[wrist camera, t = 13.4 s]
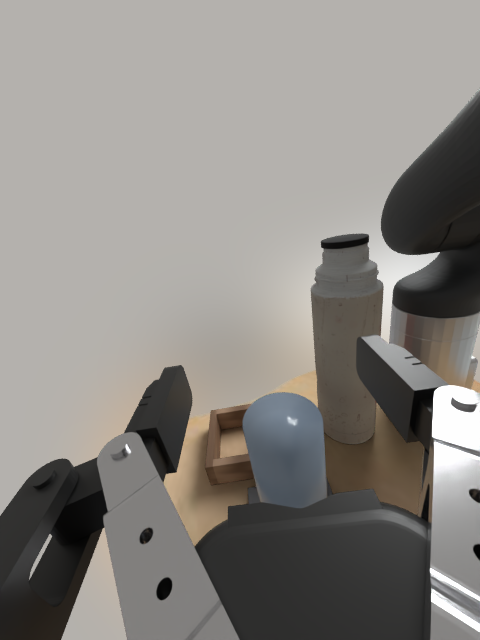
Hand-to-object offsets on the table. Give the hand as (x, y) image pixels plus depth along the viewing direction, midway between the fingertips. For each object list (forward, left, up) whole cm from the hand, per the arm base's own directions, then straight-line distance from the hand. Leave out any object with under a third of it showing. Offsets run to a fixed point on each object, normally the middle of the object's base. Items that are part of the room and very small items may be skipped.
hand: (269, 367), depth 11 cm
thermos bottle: (-12, -18, -26) cm, 34 cm away
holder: (+4, -17, -26) cm, 31 cm away
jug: (-1, -7, -25) cm, 26 cm away
